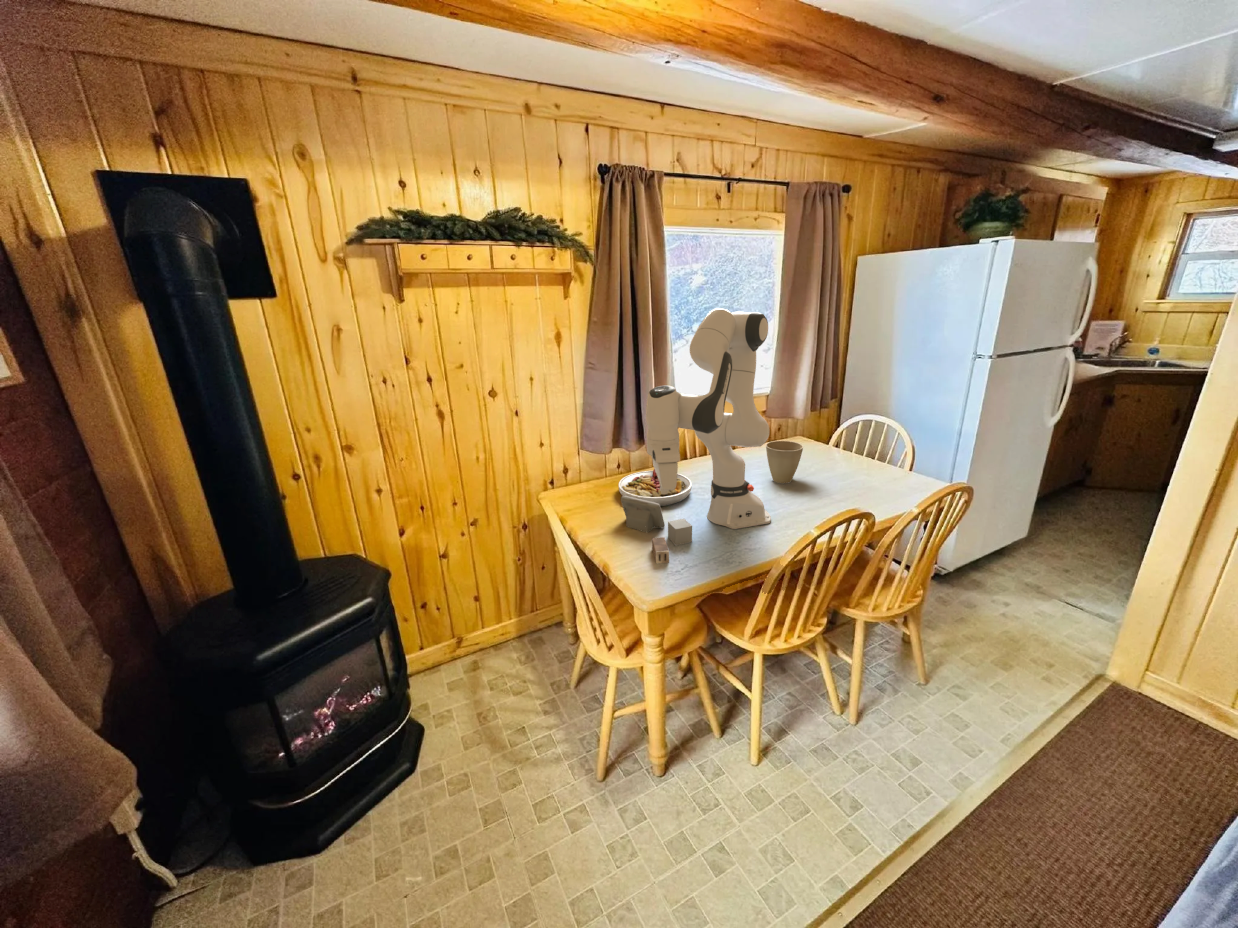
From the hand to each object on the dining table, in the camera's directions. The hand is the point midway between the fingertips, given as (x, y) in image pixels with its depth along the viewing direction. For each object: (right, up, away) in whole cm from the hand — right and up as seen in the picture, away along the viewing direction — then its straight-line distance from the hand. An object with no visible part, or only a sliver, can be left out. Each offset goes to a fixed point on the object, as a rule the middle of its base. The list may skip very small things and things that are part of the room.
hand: (663, 492), depth 136 cm
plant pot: (+58, +1, +71) cm, 91 cm away
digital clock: (-4, -14, +36) cm, 39 cm away
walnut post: (+1, -21, +10) cm, 23 cm away
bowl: (+2, -5, +62) cm, 62 cm away
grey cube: (+8, -17, +25) cm, 31 cm away
